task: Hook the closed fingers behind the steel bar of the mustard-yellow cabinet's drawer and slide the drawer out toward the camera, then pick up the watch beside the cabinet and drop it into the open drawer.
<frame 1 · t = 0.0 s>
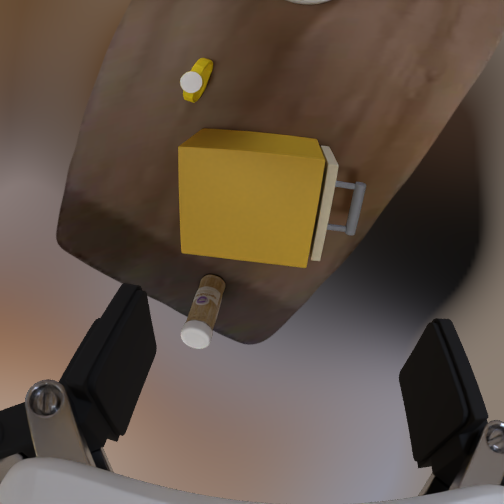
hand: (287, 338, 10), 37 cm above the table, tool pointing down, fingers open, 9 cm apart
sprinkles bottle: (213, 283, 57), on the table
drawer: (286, 196, 41), point 5 cm above the table, slide at 0.5 cm
cabinet: (255, 178, 45), on the table
watch: (204, 79, 38), on the table
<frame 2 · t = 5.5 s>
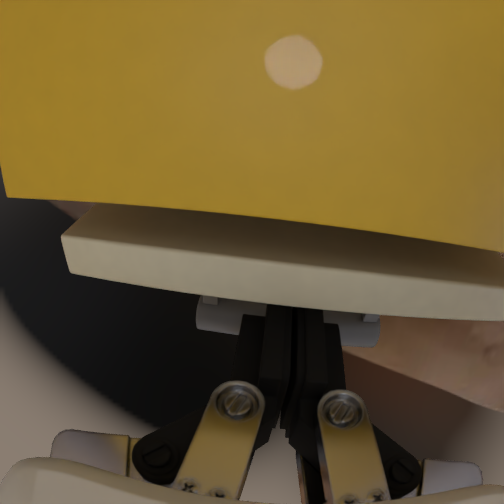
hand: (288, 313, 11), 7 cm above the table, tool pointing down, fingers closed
drawer: (324, 74, 8), point 5 cm above the table, slide at 1.5 cm, touching gripper
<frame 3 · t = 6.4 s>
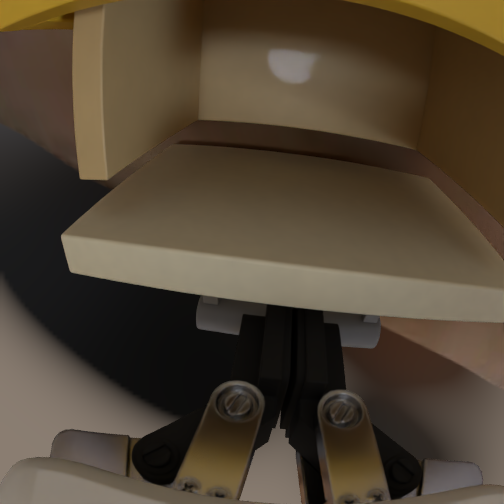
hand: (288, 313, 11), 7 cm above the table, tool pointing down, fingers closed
drawer: (326, 74, 8), point 5 cm above the table, slide at 5.2 cm, touching gripper
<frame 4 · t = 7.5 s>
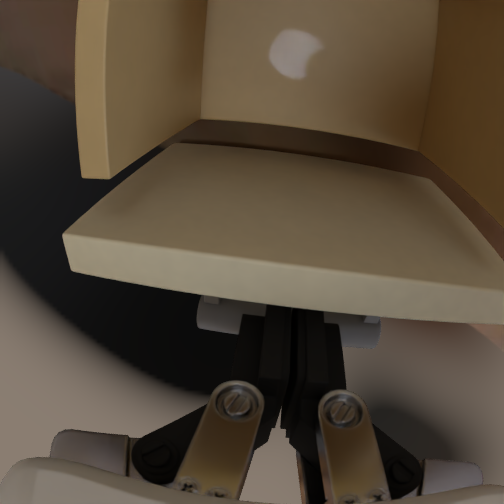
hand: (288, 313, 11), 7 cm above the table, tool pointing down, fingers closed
drawer: (329, 74, 8), point 5 cm above the table, slide at 9.2 cm, touching gripper
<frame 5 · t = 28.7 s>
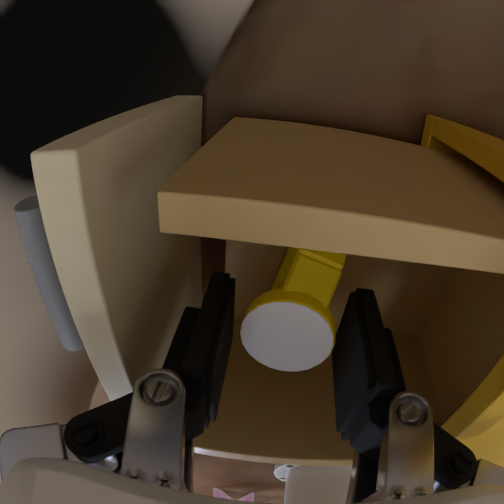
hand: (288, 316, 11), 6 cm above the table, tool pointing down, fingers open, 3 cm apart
lily: (238, 494, 45), on the table
drawer: (276, 298, 12), point 5 cm above the table, slide at 9.9 cm, touching watch
cabinet: (499, 258, 15), on the table
watch: (306, 245, 14), point 2 cm above the table, touching drawer
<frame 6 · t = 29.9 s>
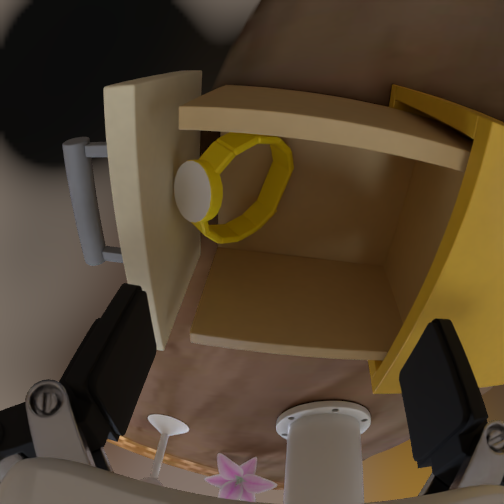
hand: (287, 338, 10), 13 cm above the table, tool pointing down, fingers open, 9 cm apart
lily: (241, 460, 50), on the table
drawer: (255, 208, 16), point 5 cm above the table, slide at 11.0 cm, touching watch
cabinet: (466, 205, 19), on the table
champagne flute: (168, 423, 43), on the table
watch: (280, 182, 18), point 2 cm above the table, touching drawer
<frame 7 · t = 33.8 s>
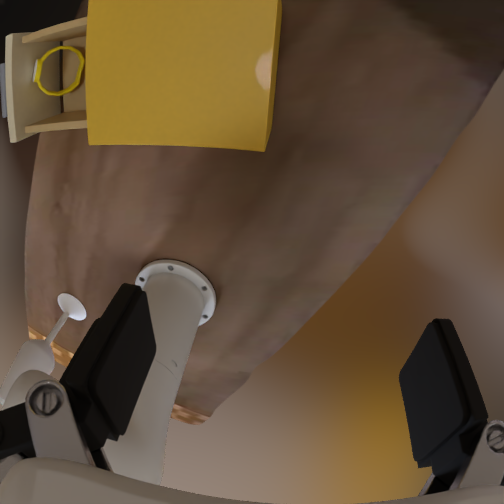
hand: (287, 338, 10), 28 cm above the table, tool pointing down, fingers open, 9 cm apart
drawer: (61, 76, 26), point 5 cm above the table, slide at 11.0 cm, touching watch
cabinet: (203, 63, 30), on the table
champagne flute: (72, 306, 53), on the table
watch: (83, 70, 28), point 2 cm above the table, touching drawer
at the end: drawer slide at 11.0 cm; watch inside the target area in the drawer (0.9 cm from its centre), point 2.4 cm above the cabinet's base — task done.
